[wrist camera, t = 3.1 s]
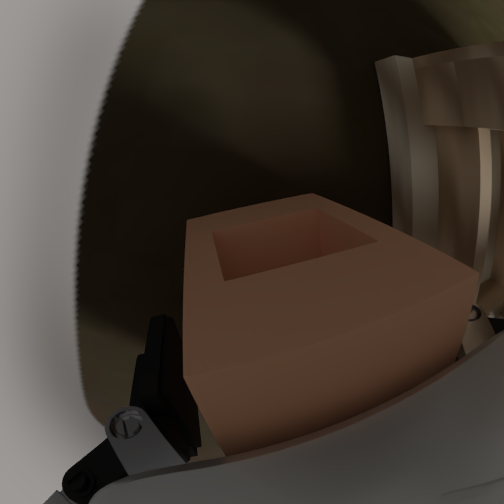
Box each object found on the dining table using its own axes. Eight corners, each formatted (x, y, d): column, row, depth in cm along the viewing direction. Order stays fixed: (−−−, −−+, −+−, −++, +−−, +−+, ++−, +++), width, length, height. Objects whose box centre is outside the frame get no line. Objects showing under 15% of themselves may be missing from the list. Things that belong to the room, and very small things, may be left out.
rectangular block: (186, 219, 11) (182, 376, 3) (311, 192, 11) (479, 272, 4) (230, 373, 14) (268, 518, 6) (323, 346, 14) (402, 467, 7)
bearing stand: (374, 62, 10) (572, 28, 1) (493, 88, 11) (607, 101, 2) (363, 445, 20) (406, 519, 11) (450, 396, 22) (498, 451, 13)
